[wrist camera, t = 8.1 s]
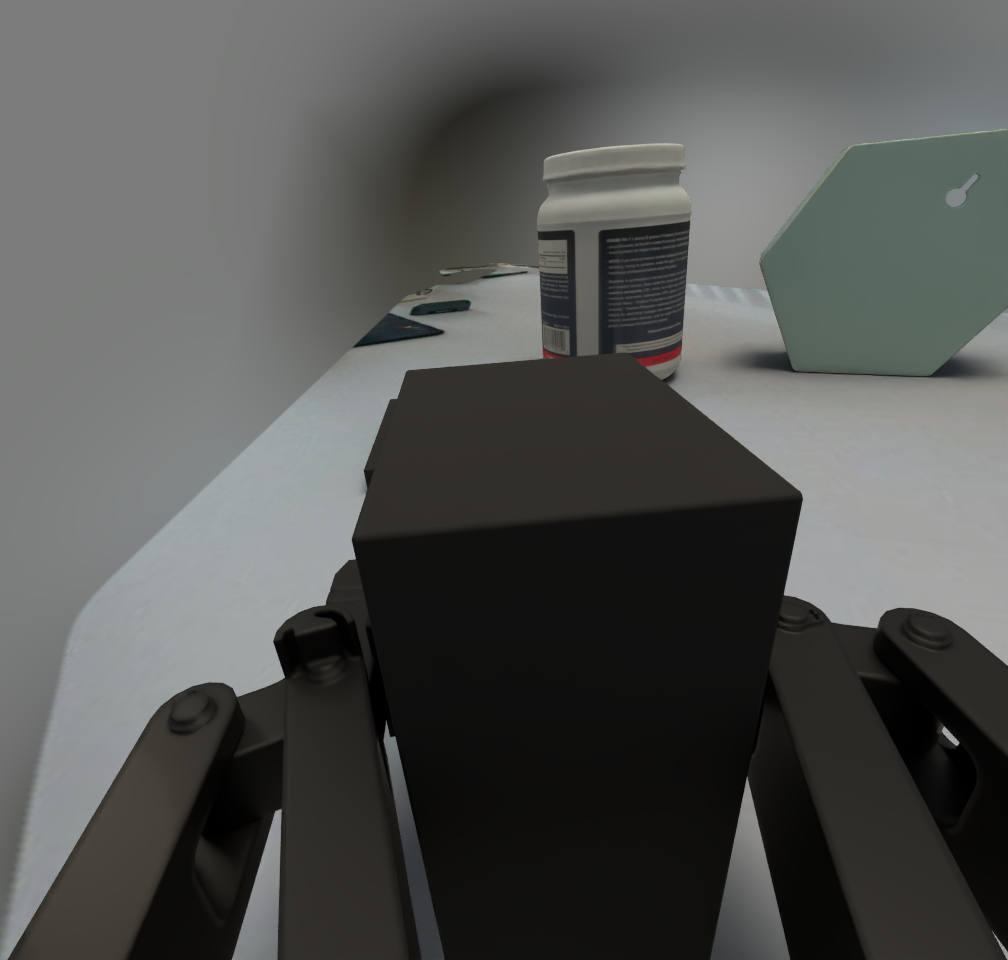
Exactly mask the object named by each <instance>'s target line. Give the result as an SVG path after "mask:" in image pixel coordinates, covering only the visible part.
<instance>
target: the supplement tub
mask: <svg viewBox="0 0 1008 960" xmlns="http://www.w3.org/2000/svg"><path fill="white" fill-rule="evenodd" d="M684 159H685V147H684V146H683V145H681V144H640V145H639V144H638V145H626V146H614V147H604V148H595V149H587V150H580V151H575V152H569V153H564V154H559V155H554V156H551V157H548V158H546V159H545V160H544V177H543V182H547V183H548V184H547V187H548V188H549V197H548V198H547V199H546V200H545V201H544V203H543V204H542V206H541V207H540V210H539V213H538V221H537V226H538V246H539V269H540V291H541V316H542V341H543V359H551V358H563V357H575V356H587V355H599V354H611V353H623V352H626V353H628V354H630V355H631V356H632V357H633V358H635V359H636V360H637V361H638V362H640V363H641V364H642V365H643V366H645V367H646V368H647V369H648V370H650V371H651V372H652V373H653V374H654V375H656V376H657V377H658V378H659V379H661V380H663V379H665V378H667V377H668V376H670V375H671V374H672V373H673V372H674V371H675V370H676V369H677V367H678V366H679V363H680V361H681V349H682V334H683V318H684V303H685V288H686V273H687V258H688V257H687V256H688V244H689V229H690V215H691V203H690V199H689V196H688V194H687V193H686V191H684V189H682V188H681V187H680V186H679V176H680V174H681V171H680V170H684V169H685V168H686V166H685V163H684V162H685V161H684Z"/></svg>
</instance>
